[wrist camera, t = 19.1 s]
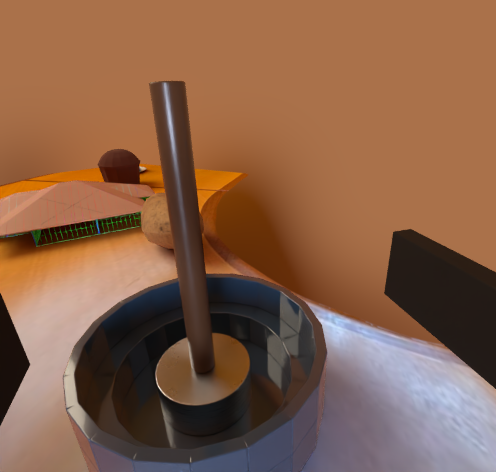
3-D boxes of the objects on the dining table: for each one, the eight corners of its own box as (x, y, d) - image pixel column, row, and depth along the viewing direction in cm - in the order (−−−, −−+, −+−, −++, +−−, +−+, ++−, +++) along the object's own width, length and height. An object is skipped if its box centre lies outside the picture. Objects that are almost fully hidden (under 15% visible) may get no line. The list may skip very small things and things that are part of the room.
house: (167, 222, 63) (160, 181, 60) (-44, 263, 50) (-67, 214, 47) (146, 195, 82) (140, 163, 79) (-10, 220, 69) (-25, 182, 66)
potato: (159, 271, 45) (150, 217, 42) (135, 238, 56) (127, 194, 53) (221, 252, 50) (217, 203, 46) (188, 226, 61) (183, 184, 58)
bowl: (360, 385, 26) (368, 320, 24) (199, 640, 14) (181, 565, 12) (212, 307, 37) (206, 257, 34) (48, 416, 25) (21, 350, 22)
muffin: (101, 184, 95) (93, 149, 91) (139, 179, 100) (133, 145, 96) (105, 193, 85) (96, 155, 81) (147, 186, 90) (141, 150, 86)
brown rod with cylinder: (269, 387, 25) (263, 77, 17) (203, 457, 21) (146, 75, 12) (209, 347, 30) (178, 85, 21) (143, 399, 25) (67, 86, 16)
